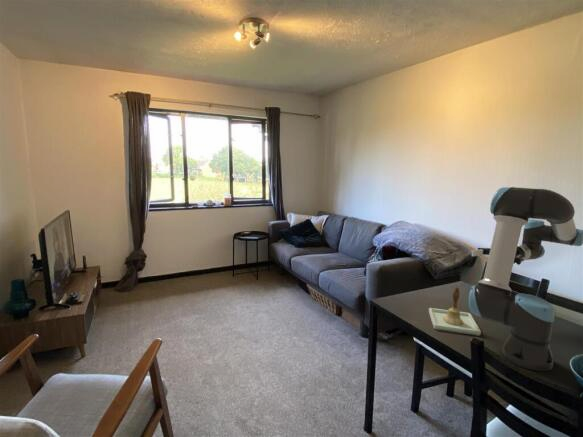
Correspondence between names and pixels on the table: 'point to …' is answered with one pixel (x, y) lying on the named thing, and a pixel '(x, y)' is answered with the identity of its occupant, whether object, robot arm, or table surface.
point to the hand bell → (454, 311)
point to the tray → (466, 328)
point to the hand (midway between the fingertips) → (485, 257)
